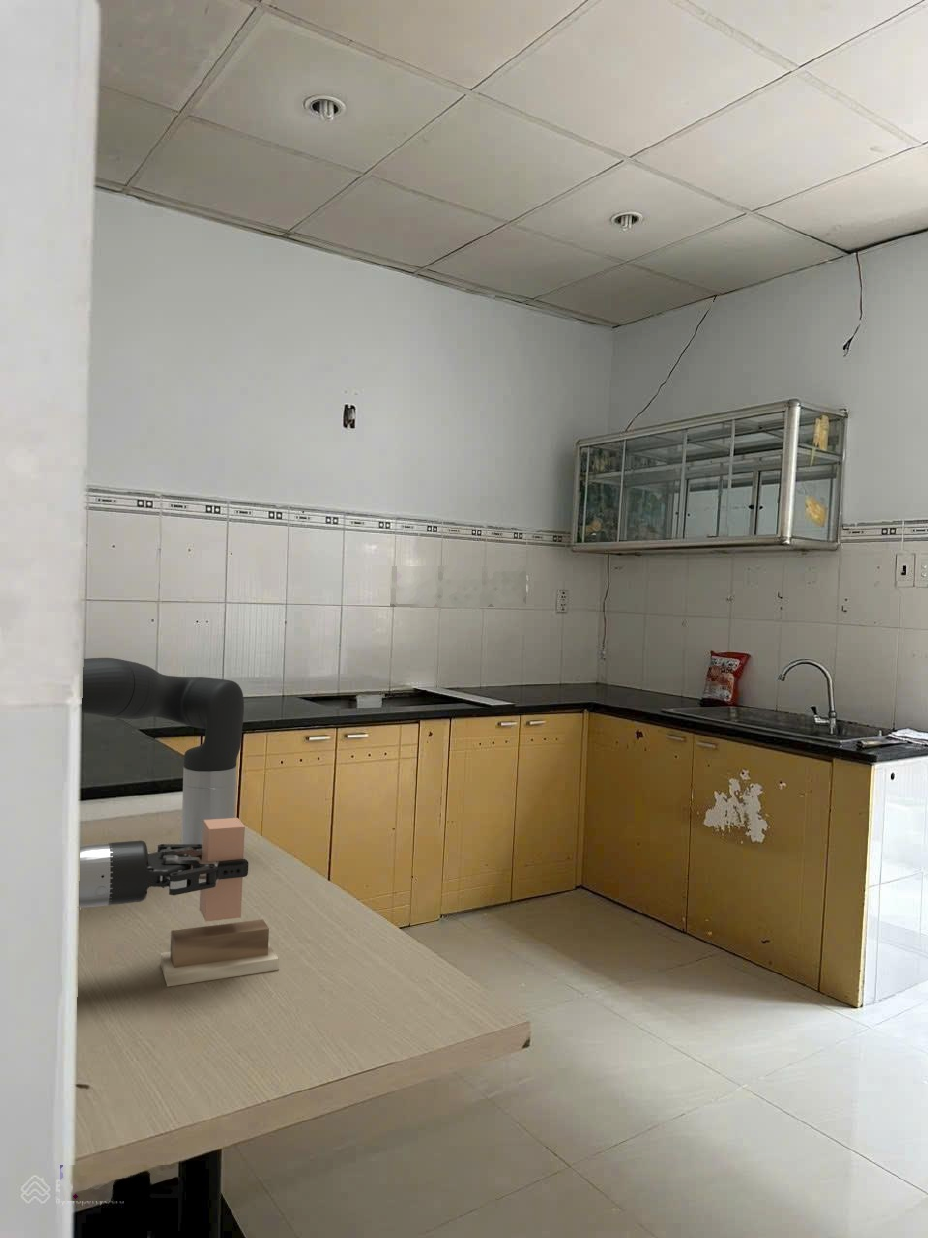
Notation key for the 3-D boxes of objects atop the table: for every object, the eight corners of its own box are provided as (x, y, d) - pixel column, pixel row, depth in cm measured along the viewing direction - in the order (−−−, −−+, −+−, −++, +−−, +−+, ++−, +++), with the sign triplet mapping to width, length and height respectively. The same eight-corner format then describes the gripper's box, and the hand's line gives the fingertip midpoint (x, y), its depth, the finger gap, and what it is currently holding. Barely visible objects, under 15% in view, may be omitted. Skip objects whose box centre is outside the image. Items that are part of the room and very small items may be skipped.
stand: (160, 964, 117) (161, 926, 117) (265, 949, 123) (267, 913, 123) (167, 986, 110) (168, 947, 110) (278, 970, 117) (279, 932, 116)
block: (199, 909, 117) (203, 820, 117) (233, 905, 119) (237, 817, 119) (205, 921, 113) (209, 829, 113) (240, 917, 115) (244, 826, 115)
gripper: (110, 861, 103) (256, 849, 111) (102, 829, 116) (234, 819, 124) (108, 924, 104) (254, 908, 111) (100, 885, 116) (232, 872, 124)
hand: (242, 861), depth 117 cm, fingers closed on block, 4 cm apart
